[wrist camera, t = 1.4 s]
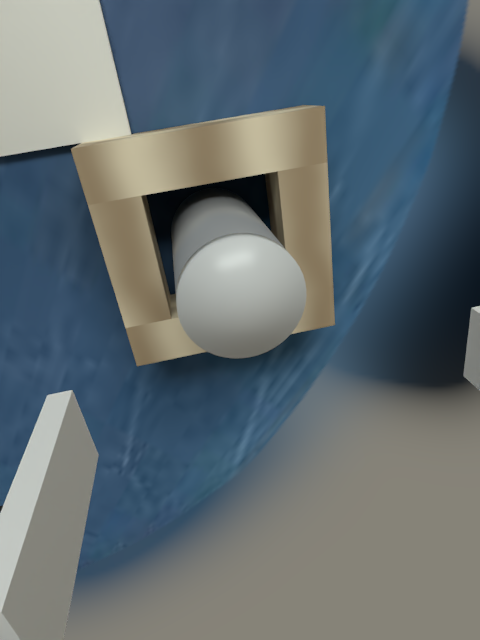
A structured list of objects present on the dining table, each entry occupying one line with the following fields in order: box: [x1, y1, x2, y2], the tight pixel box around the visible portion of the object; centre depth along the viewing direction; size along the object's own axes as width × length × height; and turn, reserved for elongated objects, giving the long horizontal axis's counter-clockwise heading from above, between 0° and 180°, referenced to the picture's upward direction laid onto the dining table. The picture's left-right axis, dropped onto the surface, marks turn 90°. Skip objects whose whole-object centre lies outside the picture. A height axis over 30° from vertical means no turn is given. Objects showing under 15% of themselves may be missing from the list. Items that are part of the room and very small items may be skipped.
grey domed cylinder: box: [171, 188, 306, 358], centre depth 25 cm, size 6×6×12 cm
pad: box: [0, 0, 131, 157], centre depth 24 cm, size 10×10×1 cm
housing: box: [71, 105, 335, 366], centre depth 29 cm, size 14×14×4 cm
